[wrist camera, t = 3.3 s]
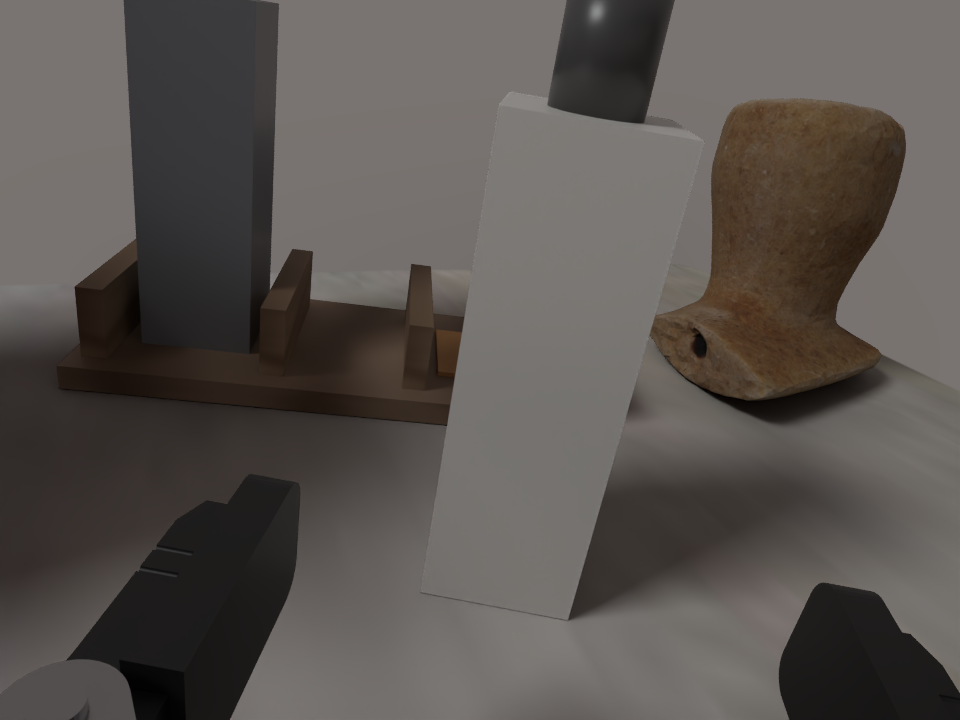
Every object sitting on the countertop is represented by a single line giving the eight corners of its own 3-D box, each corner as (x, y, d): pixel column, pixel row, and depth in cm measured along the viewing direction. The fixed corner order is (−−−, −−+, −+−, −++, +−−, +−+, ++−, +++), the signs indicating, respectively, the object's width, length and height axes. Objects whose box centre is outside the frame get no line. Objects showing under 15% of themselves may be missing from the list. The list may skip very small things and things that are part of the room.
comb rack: (552, 344, 40) (567, 277, 38) (591, 438, 31) (613, 357, 29) (146, 298, 37) (142, 223, 35) (59, 388, 28) (48, 294, 26)
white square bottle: (565, 526, 25) (704, -3, 18) (567, 620, 21) (749, -15, 14) (441, 502, 25) (530, -32, 18) (420, 592, 21) (524, -54, 14)
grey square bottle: (268, 315, 35) (281, -81, 28) (249, 354, 31) (258, -98, 24) (174, 304, 34) (162, -103, 27) (141, 343, 30) (117, -125, 23)
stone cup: (733, 310, 51) (806, 93, 45) (895, 384, 43) (1012, 131, 36) (585, 334, 42) (649, 68, 36) (753, 433, 34) (876, 111, 28)
